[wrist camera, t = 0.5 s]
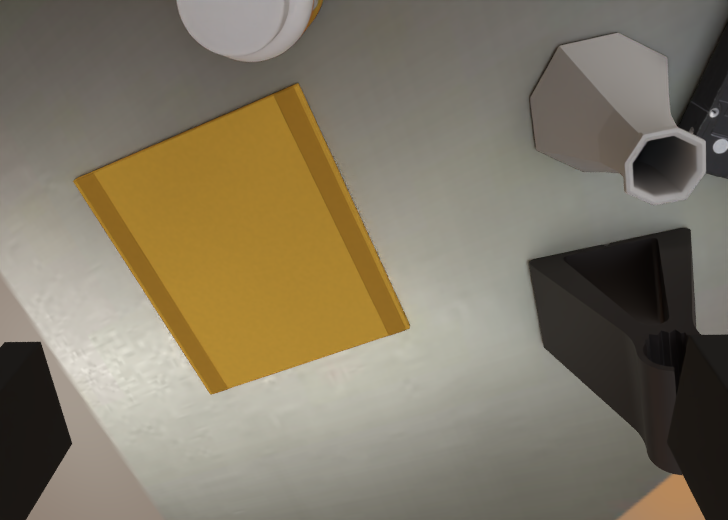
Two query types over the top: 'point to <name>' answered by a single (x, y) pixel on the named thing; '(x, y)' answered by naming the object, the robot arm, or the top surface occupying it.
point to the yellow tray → (247, 242)
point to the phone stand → (623, 325)
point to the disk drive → (712, 110)
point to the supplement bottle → (247, 25)
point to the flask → (616, 118)
